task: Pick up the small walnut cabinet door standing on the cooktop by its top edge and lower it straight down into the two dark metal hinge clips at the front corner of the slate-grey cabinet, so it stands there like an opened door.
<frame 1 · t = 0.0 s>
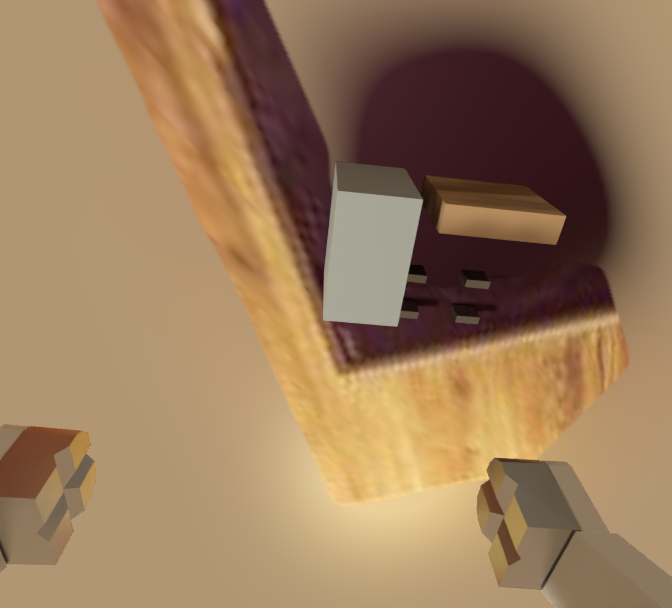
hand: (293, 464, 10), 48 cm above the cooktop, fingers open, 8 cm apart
door: (472, 192, 56), on the cooktop
hinge clips: (436, 288, 62), on the cooktop
cabinet: (362, 222, 57), on the cooktop
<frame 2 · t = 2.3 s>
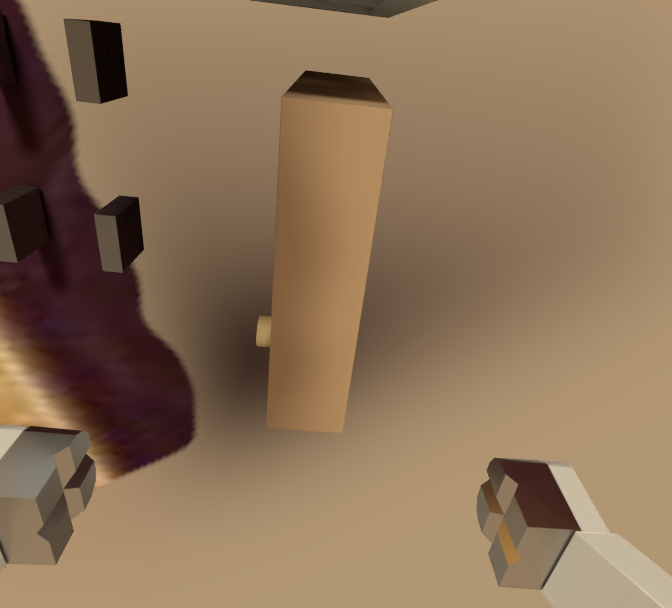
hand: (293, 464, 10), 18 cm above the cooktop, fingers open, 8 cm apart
door: (325, 198, 25), on the cooktop
hinge clips: (70, 142, 24), on the cooktop
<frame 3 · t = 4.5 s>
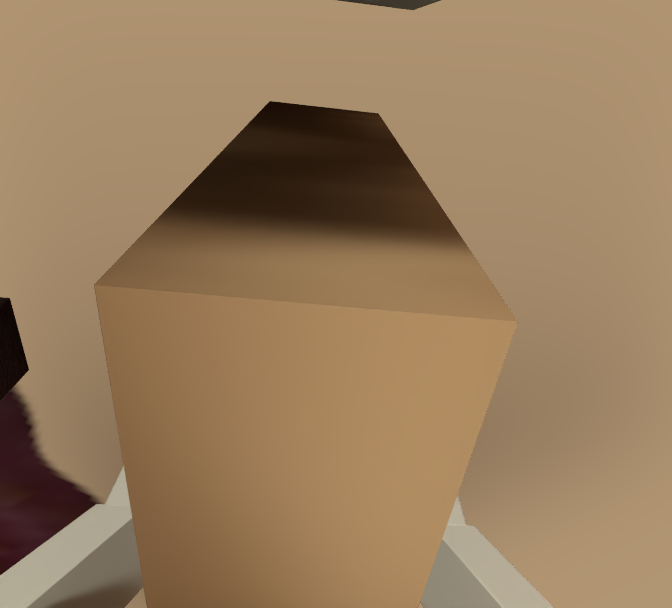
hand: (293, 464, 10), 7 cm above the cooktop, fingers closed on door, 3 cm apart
door: (307, 297, 16), on the cooktop, touching gripper
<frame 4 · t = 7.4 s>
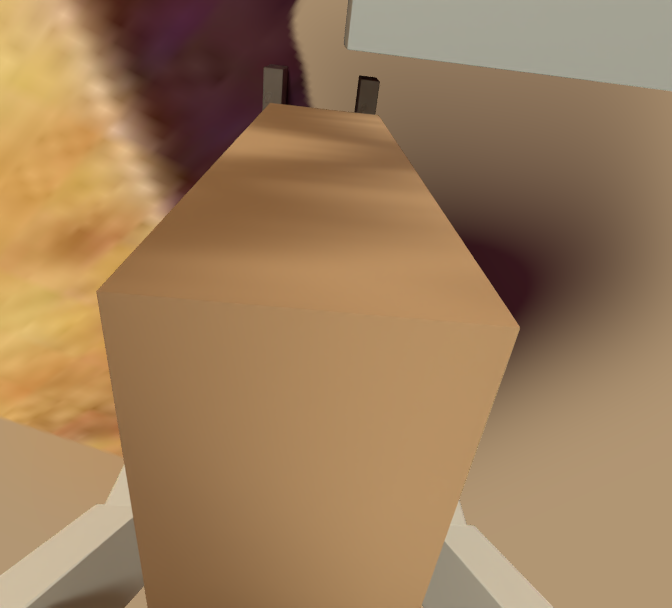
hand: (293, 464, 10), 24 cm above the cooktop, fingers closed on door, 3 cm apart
door: (307, 299, 16), point 17 cm above the cooktop, touching gripper
hinge clips: (315, 165, 30), on the cooktop
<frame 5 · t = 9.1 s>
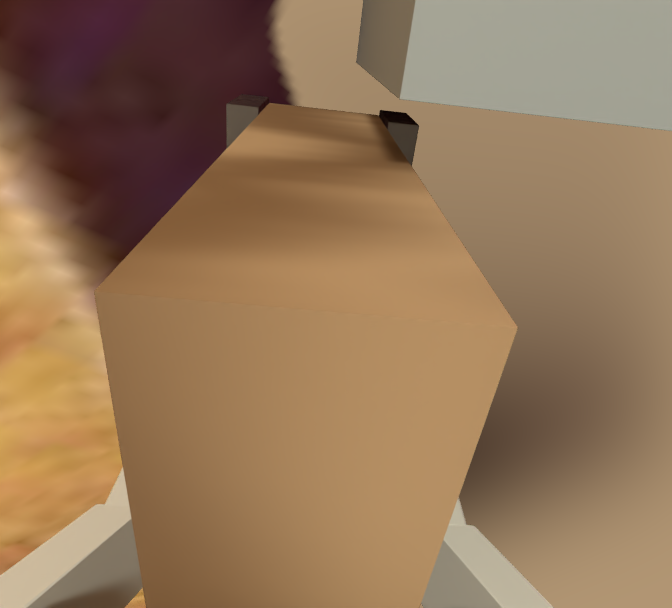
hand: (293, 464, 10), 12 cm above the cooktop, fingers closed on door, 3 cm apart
door: (307, 299, 16), point 5 cm above the cooktop, touching gripper
hinge clips: (312, 240, 20), on the cooktop
when the fingers open (8 cm above the cooktop, at t = 10.6 s): door stays where it is, on the cooktop.
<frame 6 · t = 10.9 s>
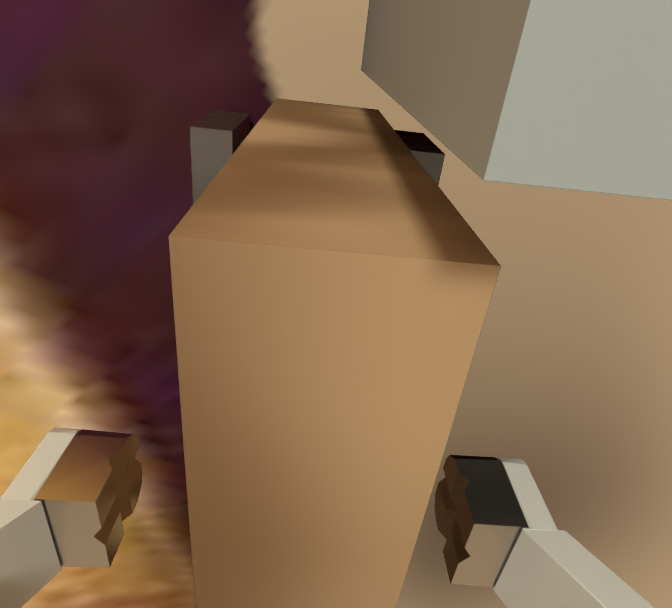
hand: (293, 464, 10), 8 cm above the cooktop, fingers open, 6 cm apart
door: (311, 284, 17), on the cooktop
hinge clips: (307, 285, 17), on the cooktop
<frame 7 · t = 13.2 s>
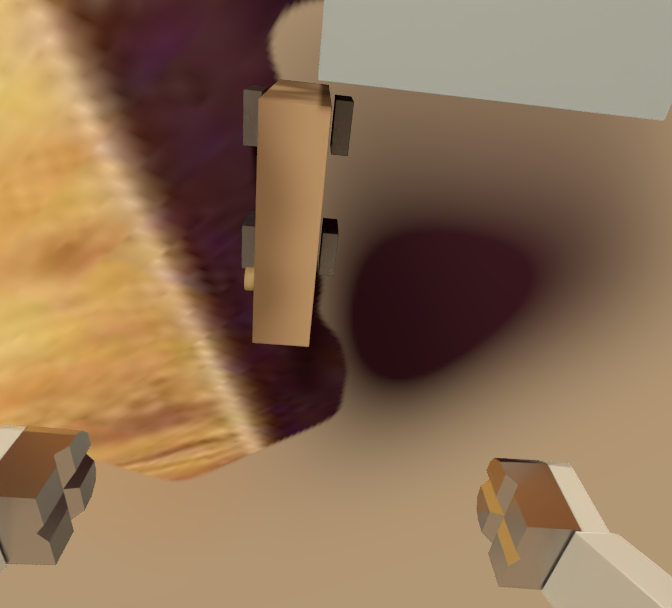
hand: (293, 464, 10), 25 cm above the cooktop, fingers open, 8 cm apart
door: (297, 179, 32), on the cooktop
hinge clips: (295, 179, 32), on the cooktop
cabinet: (447, 2, 27), on the cooktop
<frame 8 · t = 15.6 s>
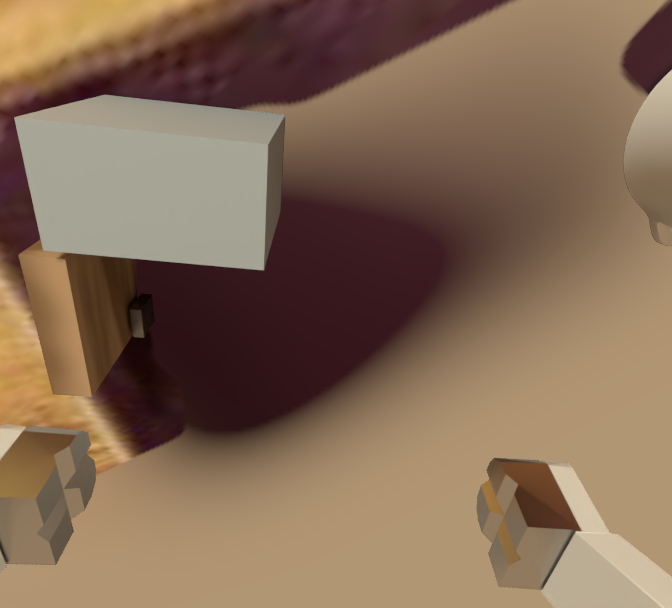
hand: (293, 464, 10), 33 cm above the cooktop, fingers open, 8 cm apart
door: (117, 267, 44), on the cooktop
hinge clips: (115, 268, 44), on the cooktop
cabinet: (198, 156, 39), on the cooktop
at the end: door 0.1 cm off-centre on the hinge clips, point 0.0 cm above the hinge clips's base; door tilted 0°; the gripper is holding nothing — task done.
